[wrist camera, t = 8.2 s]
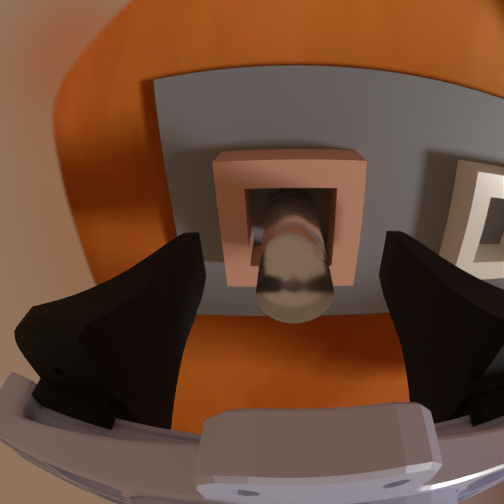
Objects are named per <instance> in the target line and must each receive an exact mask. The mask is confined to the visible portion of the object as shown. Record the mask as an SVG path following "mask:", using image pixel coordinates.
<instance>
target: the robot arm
mask: <svg viewBox="0 0 504 504" xmlns="http://www.w3.org/2000/svg"><path fill="white" fill-rule="evenodd" d="M379 279H380V283H381V288H382V292H383V296H384V299H385V301H386V304H387V307H388V310H389V312H390V315H391V318H392V320H393V323H394V326H395V329H396V331H397V334H398V337H399V340H400V344H401V347H402V351H403V356H404V361H405V367H406V373H407V380H408V387H409V397H410V402H391V403H383V404H374V405H364V406H352V407H338V408H317V409H261V408H253V409H239V410H227V411H224V412H222V413H220V414H217V415H215V416H213V417H210V418H208V419H206V420H204V425H203V430H202V434H195V433H188V432H181V431H175V430H171V423H172V413H173V406H174V399H175V392H176V386H177V380H178V375H179V370H180V365H181V360H182V356H183V351H184V347H185V344H186V341H187V338H188V335H189V332H190V330H191V327H192V324H193V321H194V319H195V316H196V313H197V310H198V307H199V305H200V302H201V299H202V296H203V291H204V286H205V281H206V270H205V264H204V259H203V253H202V247H201V241H200V235H199V232H189V233H183V234H181V235H179V236H177V237H176V238H174V239H173V240H171V241H170V242H168V243H167V244H166V245H164V246H163V247H161V248H160V249H159V250H157V251H156V252H154V253H153V254H151V255H150V256H148V257H147V258H145V259H144V260H142V261H141V262H139V263H138V264H136V265H135V266H133V267H132V268H130V269H128V270H127V271H125V272H123V273H121V274H120V275H118V276H116V277H114V278H112V279H110V280H108V281H106V282H104V283H102V284H99V285H97V286H95V287H93V288H91V289H88V290H86V291H83V292H81V293H78V294H75V295H72V296H70V297H66V298H64V299H60V300H57V301H53V302H49V303H45V304H41V305H37V306H33V307H32V308H31V309H30V310H29V312H28V313H27V314H26V315H25V317H24V318H23V319H22V321H21V322H20V323H19V325H18V326H17V327H16V329H15V331H14V333H15V340H16V343H17V345H18V347H19V349H20V351H21V352H22V354H23V355H24V357H25V358H26V359H27V361H28V362H29V363H30V364H31V366H32V367H33V369H34V370H35V371H36V372H37V374H38V375H39V376H40V378H41V379H40V380H39V382H38V384H36V383H34V382H33V381H31V380H30V379H28V378H25V377H23V376H20V375H18V374H16V373H13V372H11V373H10V374H9V376H8V377H7V379H6V381H5V382H4V384H3V386H2V387H1V389H0V440H1V441H2V442H3V443H4V444H6V445H7V446H8V447H9V448H11V449H12V450H13V451H15V452H16V453H17V454H19V455H20V456H21V457H23V458H24V459H26V460H27V461H29V462H31V463H32V464H34V465H36V466H38V467H40V468H41V469H43V470H45V471H47V472H49V473H51V474H52V475H54V476H56V477H58V478H60V479H62V480H64V481H66V482H68V483H70V484H72V485H74V486H76V487H78V488H81V489H83V490H85V491H87V492H90V493H92V494H94V495H97V496H99V497H102V498H104V499H106V500H109V501H112V502H114V503H117V504H458V501H461V500H463V499H466V498H468V497H470V496H473V495H475V494H477V493H479V492H482V491H484V490H486V489H488V488H490V487H492V486H494V485H496V484H498V483H500V482H502V481H504V290H503V289H501V288H498V287H496V286H494V285H492V284H489V283H487V282H485V281H483V280H481V279H479V278H477V277H475V276H473V275H471V274H469V273H467V272H466V271H464V270H462V269H460V268H458V267H457V266H455V265H454V264H452V263H450V262H449V261H447V260H446V259H444V258H443V257H441V256H440V255H438V254H437V253H435V252H434V251H432V250H431V249H429V248H428V247H426V246H425V245H423V244H422V243H420V242H419V241H417V240H416V239H414V238H413V237H411V236H409V235H408V234H406V233H404V232H402V231H386V238H385V243H384V249H383V255H382V260H381V265H380V270H379Z"/></svg>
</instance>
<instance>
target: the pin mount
mask: <svg viewBox="0 0 504 504" xmlns="http://www.w3.org/2000/svg"><path fill="white" fill-rule="evenodd" d="M491 197H494V198H502V199H504V167H500V166H495V165H490V164H484V163H478V162H472V161H465V160H459V159H458V163H457V170H456V177H455V183H454V189H453V195H452V200H451V205H450V210H449V215H448V219H447V224H446V228H445V232H444V236H443V240H442V244H441V248H440V252H439V255H440V256H441V257H443V258H444V259H446V260H447V261H449V262H450V263H452V264H454V265H455V266H457V267H458V268H460V269H462V270H464V271H466V272H467V273H469V274H471V275H473V276H475V277H477V278H479V279H481V280H482V279H496V278H504V232H503V235H502V238H501V242H500V244H479V241H480V238H481V234H482V231H483V227H484V223H485V220H486V216H487V212H488V207H489V203H490V199H491Z"/></svg>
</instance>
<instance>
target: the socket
mask: <svg viewBox="0 0 504 504" xmlns="http://www.w3.org/2000/svg"><path fill="white" fill-rule="evenodd" d="M212 164H213V173H214V182H215V190H216V199H217V207H218V216H219V224H220V232H221V240H222V247H223V255H224V263H225V270H226V277H227V285H228V286H235V287H257V279H258V270H259V262H260V254H261V246H262V245H254V241H253V227H252V212H251V198H250V189H263V188H329V209H328V227H327V243H326V244H324V246H325V250H326V255H327V259H328V264H329V269H330V273H331V278H332V283H333V286H353V282H354V276H355V270H356V263H357V256H358V249H359V241H360V233H361V225H362V215H363V206H364V195H365V183H366V168H367V160H365V159H364V158H363V157H362V156H361V155H360V154H359V153H358V152H357V151H356V150H342V149H264V150H240V151H223V152H221V153H220V154H219V155H218V156H217V157H216V159H215V160H214V161H213V162H212Z"/></svg>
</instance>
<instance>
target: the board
mask: <svg viewBox="0 0 504 504" xmlns="http://www.w3.org/2000/svg"><path fill="white" fill-rule="evenodd" d="M153 82H154V91H155V100H156V109H157V117H158V124H159V132H160V139H161V146H162V153H163V159H164V165H165V172H166V178H167V184H168V190H169V195H170V201H171V206H172V212H173V217H174V222H175V227H176V232H177V236H179V235H181V234H183V233H189V232H199V235H200V241H201V247H202V253H203V259H204V264H205V270H206V281H205V286H204V291H203V296H202V299H201V302H200V305H199V307H198V310H197V313H196V314H200V315H231V316H268V315H267V314H265V313H264V312H263V311H262V310H261V308H260V307H259V305H258V303H257V300H256V287H235V286H228V285H227V277H226V270H225V263H224V255H223V247H222V240H221V232H220V224H219V216H218V207H217V199H216V190H215V182H214V173H213V164H212V162H213V161H214V160H215V159H216V157H217V156H218V155H219V154H220V153H221V152H223V151H240V150H264V149H342V150H356V151H357V152H358V153H359V154H360V155H361V156H362V157H363V158H364V159H365V160H367V168H366V183H365V195H364V206H363V215H362V225H361V233H360V241H359V249H358V256H357V263H356V270H355V276H354V282H353V286H333V288H334V296H333V300H332V303H331V304H330V306H329V307H328V309H327V310H326V311H325V312H324V313H323V314H321V315H320V316H325V315H356V314H377V313H390V312H389V310H388V307H387V304H386V301H385V299H384V296H383V292H382V288H381V283H380V279H379V270H380V265H381V260H382V255H383V249H384V243H385V238H386V231H402V232H404V233H406V234H408V235H409V236H411V237H413V238H414V239H416V240H417V241H419V242H420V243H422V244H423V245H425V246H426V247H428V248H429V249H431V250H432V251H434V252H435V253H437V254H438V255H439V252H440V248H441V244H442V240H443V236H444V232H445V228H446V224H447V219H448V215H449V210H450V205H451V200H452V195H453V189H454V183H455V177H456V170H457V163H458V159H459V160H465V161H472V162H478V163H484V164H490V165H495V166H500V167H504V99H502V98H499V97H496V96H493V95H490V94H487V93H483V92H480V91H477V90H473V89H470V88H466V87H463V86H459V85H455V84H451V83H447V82H442V81H438V80H433V79H429V78H424V77H418V76H413V75H407V74H401V73H394V72H387V71H380V70H371V69H362V68H350V67H336V66H310V65H282V66H256V67H241V68H229V69H219V70H211V71H203V72H195V73H189V74H182V75H176V76H171V77H165V78H160V79H155V80H153ZM279 189H281V188H263V189H250V198H251V212H252V227H253V241H254V245H262V237H263V229H264V220H265V212H266V205H267V201H268V199H269V198H270V196H271V195H272V194H273V193H274V192H275V191H277V190H279ZM300 189H302V190H304V191H306V192H307V193H308V194H309V195H310V196H311V198H312V199H313V202H314V205H315V209H316V213H317V217H318V221H319V225H320V229H321V233H322V238H323V242H324V244H326V243H327V227H328V209H329V188H300ZM503 232H504V199H502V198H494V197H491V199H490V203H489V207H488V212H487V216H486V220H485V223H484V227H483V231H482V234H481V238H480V241H479V244H500V242H501V238H502V235H503ZM482 280H483V281H485V282H487V283H489V284H492V285H494V286H496V287H498V288H501V289H503V290H504V278H496V279H482Z"/></svg>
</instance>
